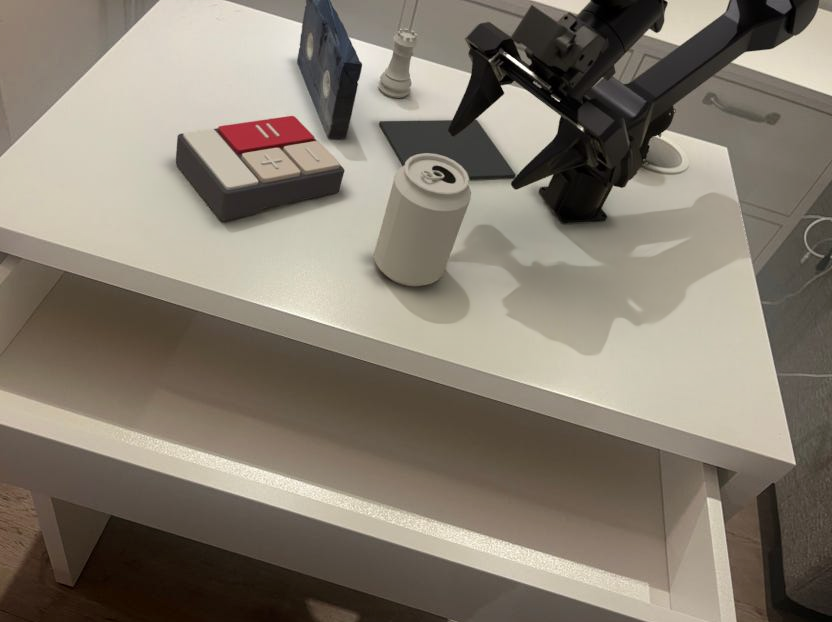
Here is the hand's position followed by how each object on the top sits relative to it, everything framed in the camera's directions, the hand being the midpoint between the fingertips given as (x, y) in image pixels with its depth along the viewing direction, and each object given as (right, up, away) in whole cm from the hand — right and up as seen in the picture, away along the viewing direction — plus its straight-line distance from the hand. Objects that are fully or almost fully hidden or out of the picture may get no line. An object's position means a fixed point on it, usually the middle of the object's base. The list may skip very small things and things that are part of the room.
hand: (480, 159), depth 74 cm
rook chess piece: (-7, +17, +30) cm, 35 cm away
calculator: (-23, +1, +11) cm, 25 cm away
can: (-7, -10, +6) cm, 13 cm away
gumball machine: (+24, +8, +29) cm, 39 cm away
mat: (-1, +7, +22) cm, 23 cm away
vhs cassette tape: (-17, +14, +25) cm, 33 cm away
